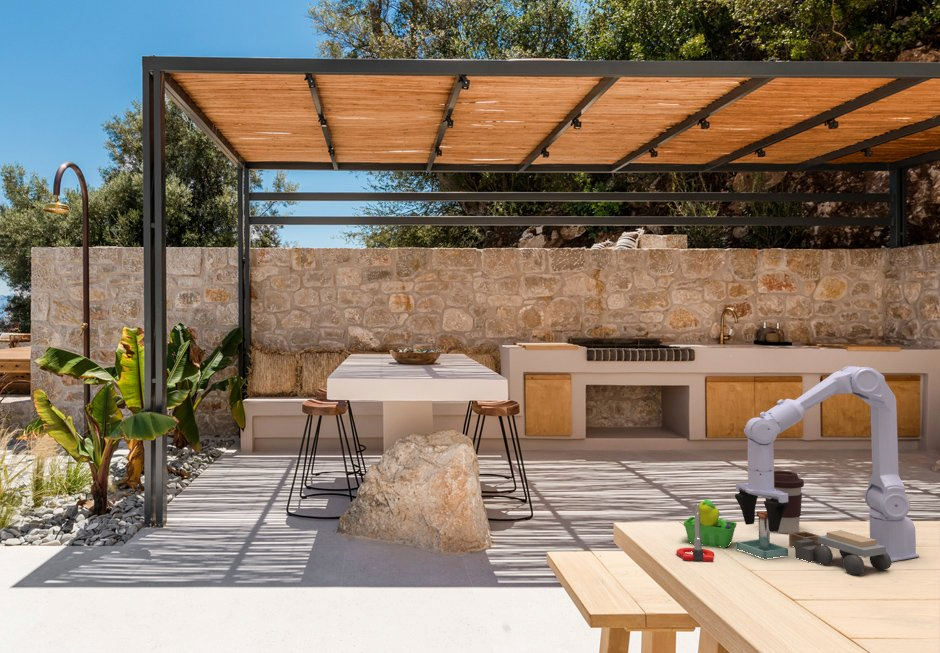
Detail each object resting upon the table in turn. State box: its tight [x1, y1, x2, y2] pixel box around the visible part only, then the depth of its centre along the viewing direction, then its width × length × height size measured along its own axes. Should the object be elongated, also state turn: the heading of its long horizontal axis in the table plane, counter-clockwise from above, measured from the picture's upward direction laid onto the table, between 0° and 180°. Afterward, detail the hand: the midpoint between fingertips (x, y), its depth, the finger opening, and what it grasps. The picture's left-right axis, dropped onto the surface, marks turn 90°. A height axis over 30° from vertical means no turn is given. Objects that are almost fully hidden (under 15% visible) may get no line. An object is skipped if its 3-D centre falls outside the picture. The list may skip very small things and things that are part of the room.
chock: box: [794, 539, 816, 563], centre depth 171 cm, size 4×4×4 cm
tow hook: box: [675, 503, 715, 562], centre depth 175 cm, size 8×13×9 cm
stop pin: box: [756, 510, 771, 551], centre depth 177 cm, size 3×3×9 cm
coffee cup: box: [765, 470, 805, 534], centre depth 197 cm, size 10×10×15 cm
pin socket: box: [788, 530, 822, 548], centre depth 181 cm, size 5×5×3 cm
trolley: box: [813, 529, 892, 576], centre depth 166 cm, size 12×10×7 cm
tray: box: [735, 538, 789, 559], centre depth 176 cm, size 7×9×2 cm
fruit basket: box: [682, 499, 738, 548], centre depth 185 cm, size 11×9×11 cm
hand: (761, 527), depth 177 cm, fingers open, 7 cm apart
